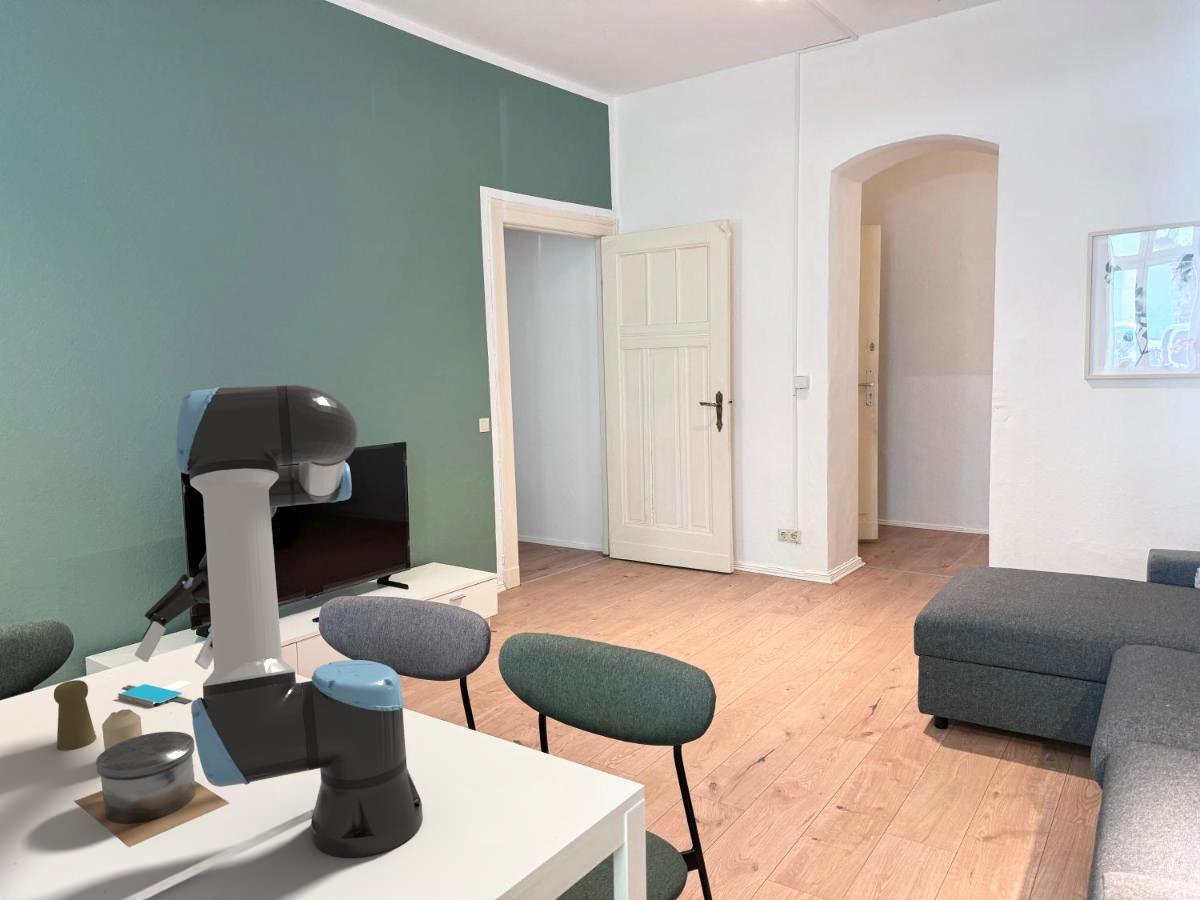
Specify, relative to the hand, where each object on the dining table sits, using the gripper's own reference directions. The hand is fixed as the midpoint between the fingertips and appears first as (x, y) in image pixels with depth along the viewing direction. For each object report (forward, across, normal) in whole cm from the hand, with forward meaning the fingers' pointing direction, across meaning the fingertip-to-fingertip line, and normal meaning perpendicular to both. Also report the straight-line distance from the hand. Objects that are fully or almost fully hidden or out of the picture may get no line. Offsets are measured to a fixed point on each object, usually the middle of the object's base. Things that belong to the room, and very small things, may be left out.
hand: (170, 662), depth 150 cm
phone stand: (-1, +22, -23) cm, 32 cm away
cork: (+14, +18, -7) cm, 24 cm away
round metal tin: (+23, -15, +4) cm, 28 cm away
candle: (+18, 0, -3) cm, 18 cm away
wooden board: (+24, -15, +3) cm, 28 cm away
